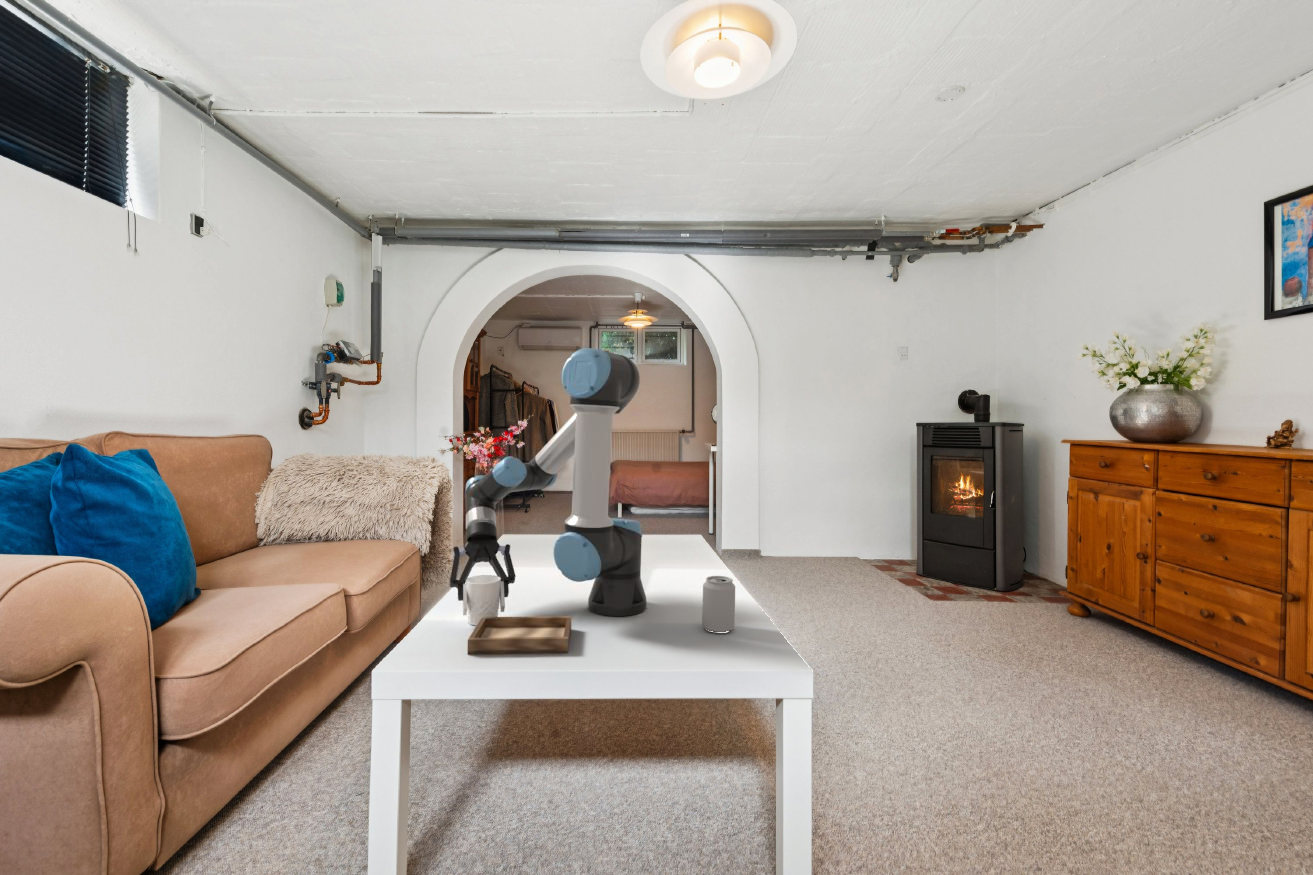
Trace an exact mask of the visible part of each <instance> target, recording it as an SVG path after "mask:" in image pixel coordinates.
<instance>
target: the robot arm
mask: <svg viewBox="0 0 1313 875" xmlns="http://www.w3.org/2000/svg"><path fill="white" fill-rule="evenodd" d="M640 377H641V376H640V372H639V368H638V367H637V365H636V364H635V362H634V361H633V360H632V359H631V358H629V357H627V356H626V355H622V354H619V353H614V352H609V351H605V350H603V349H600V348H590V347H589V348H588V347H587V348H586V347H585V348H584V347H583V348H580V349H577V350H576V351H574V352H573V353H572V354H571V355H570V356H569V357H568V358H567V360H566V361H565V363H564V365H563V367H562V370H561V383H562V386H563V388H564V389H565V392H566V394H568V395H569V396H570V404H569V407H570V408H571V409H572V410H573V411H574V414H572V415H571V417H569V419H568V420H567V421H566V422H565V423H564V424H563V425H562V426H561V428H560V429H559V430H558V431H557V432H556V433H555V434H554V435H553V436H552V437H551V438H550V440H549V441H548V442H547V443H546V444H545V445H544V446H543V447H542V448H541V450H539V452H537V454H536V455H535V456H534V457H533V458H532V459H531V460H530V461H529V462H522V461H521V460H520V459H519V458H515V457H514V456H511V455H509V456H505V457H503V459H502V460H501V461H498V462H497V463H496V464H495V465H494V466H493V467H492V468H491V469H490V470H489V471H487V473H486V474H485V475H482V474H481V475H476V476H474V477H471V478H469V479H468V480H467V482H465V483H466V484H465V491H464V498H465V499H464V500H465V501H464V502H465V504H464V505H465V545H464V546H461V547H459V546H454V547H453V548H452V549H453V550H452V551H453V552H452V555H453V563H452V568H451V574H450V577H449V587H450V588H456V589H457V600H458V601H459V602H460V601H461V602H462V615H463V616H468V611H467V587H466V580H467V579H468V578H469V576H470V573H471V572H472V570H473V567H474V566H475V564H476V563H482V562H483V563H488V564H489V565H490V566H491V567H492V568H493V571H494V572H495V574H496V575H495V576H498V577H500V578H501V586H500V602H499V609H500V613H504V612H505V608H506V601H505V600H506V599H505V598H508V596H509V592H510V591H509V590H510V589H509V585H510V584H514V583H515V582H516V576H517V575H516V571H515V568H514V564H513V561H512V557H511V556H512V555H511V554H510V552H511V544H505V545H500V544H499V542H498V534H497V533H498V532H497V515H496V514H497V513H496V505H497V503H499V502H500V501H501V500H503V499H504V498H505V497H506V496H507V495H508V494H511V493H513V492H514V493H515V492H522V491H523V492H524V491H532V490H544V489H547V488H549V487H552V486H553V485H554V484H555V483H556V480H557V477H558V472H559V471H560V470H561V469H562V468H563V467H564V466H565V465H566V464H567V462H568V461H569V460H570V459H572V457H573V474H572V475H573V476H572V497H571V514H570V516H568V517H567V518H566V519H565V520H564V529H563V531H564V533H563V534H561V535H560V536H559V538H558V539H556V541H555V542H554V546H553V552H552V554H553V560H554V563H555V565H556V568H557V569H558V570H559V571H560V572H561V575H563V576H564V577H565V578H566V579H568V580H570V581H572V582H575V583H577V582H578V583H579V582H581V583H582V582H587V581H593V580H594V581H593V584H592V587H591V590H590V592H589V595H588V601H587V602H588V603H587V609H588V610H589V611H590V612H592V613H594V614H596V615H602V616H607V617H627V616H634V615H639V614H641V613H643V612H645V611H646V610H645V609H647V608H646V607H647V604H648V603H647V602H648V601H647V596H646V593H645V588H644V585H643V582H642V579H641V574H642V573H641V570H642V569H641V567H642V540H643V538H642V537H643V533H642V524H641V522H640V521H639V520H636V519H635V520H634V519H628V518H627V519H626V518H616V517H610V516H609V501H610V500H609V498H610V497H609V496H610V477H611V457H612V437H613V415H619V414H620V413H621V412H622V411H623V410H624V409H625V408H626V407H627V406H628V405H629V404H630V402H631V401H632V400H633V399H634V397H635V395H636V394H637V392H638V389H639V387H640V383H641V381H640V380H641V378H640ZM498 552H500V554H501V555H502V556H503V561H504V565H505V568H506V572H505V570H504V568H503V567H502V564H501V563H500V561H499V559H498V558H497V554H498ZM464 553H465V555H467V557H468V560H467V563H466V564H465V566H464V569H463V571H462V573H461V575H460V577H459V579H457V578H458V577H457V576H458V571H459V566H460V561H461V560H460V559H461V558H462V557H463V554H464ZM644 610H645V611H644Z"/></svg>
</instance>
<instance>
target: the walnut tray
mask: <svg viewBox="0 0 1313 875" xmlns="http://www.w3.org/2000/svg"><path fill="white" fill-rule="evenodd" d="M572 619H573V618H572V615H571V616H569V615H567V616H565V615H564V616H557V615H555V616H498V617H482V618H481V620H480V621H479V623H478V624H477V626H475V628H474V629H473V631H472V632H471V634H470V635H469V637H468V638H467V654H469V655H522V654H523V655H527V654H529V655H530V654H535V655H536V654H538V655H539V654H540V655H541V654H568V652H569V646H570V639H571V634H572Z"/></svg>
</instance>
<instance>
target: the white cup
mask: <svg viewBox="0 0 1313 875" xmlns="http://www.w3.org/2000/svg"><path fill="white" fill-rule="evenodd" d="M465 584H466V587H467V623H468V624H469V625H471V626H475V627H476V626H477V624H478V623H479V621H480V620H481V618H482V617H499V616H498V615H499V609H500V586H501V578H500V577H498V576H497V575H491V574H485V575H483V574H482V575H474V576H470V577H468V578H467V580H466V582H465Z"/></svg>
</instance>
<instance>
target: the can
mask: <svg viewBox="0 0 1313 875" xmlns="http://www.w3.org/2000/svg"><path fill="white" fill-rule="evenodd" d="M705 580H706V581H704V583H703V584H702V609H701V610H702V612H701V613H702V614H701V615H702V617H701V622H702V623H701V626H702V627H703V629H705V630H706V629H707V630H709V631H713V632H726V631H730V630H731V631H732V630H733V629H734V628H735V621H736V620H735V619H736V618H735V616H736V615H735V614H736V585H735V584H734V583H733V581H734V579H733V578H731V577H729V576H726V575H725V576H724V575H712V576H707V577H706V578H705ZM731 631H730V632H731Z"/></svg>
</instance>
